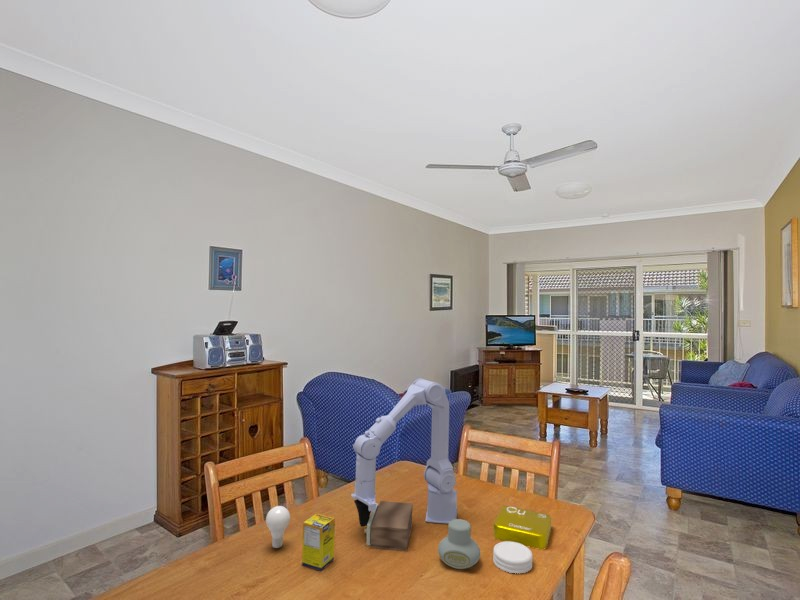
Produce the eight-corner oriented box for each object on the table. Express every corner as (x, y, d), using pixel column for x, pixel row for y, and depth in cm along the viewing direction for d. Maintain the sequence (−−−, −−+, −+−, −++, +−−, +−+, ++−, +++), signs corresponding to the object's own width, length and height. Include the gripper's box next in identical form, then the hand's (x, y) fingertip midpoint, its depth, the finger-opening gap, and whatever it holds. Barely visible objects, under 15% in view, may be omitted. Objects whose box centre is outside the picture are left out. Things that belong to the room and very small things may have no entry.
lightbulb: (293, 544, 123) (294, 504, 124) (280, 556, 117) (281, 514, 118) (274, 539, 125) (275, 500, 126) (260, 551, 119) (261, 509, 120)
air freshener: (435, 567, 114) (436, 528, 114) (440, 550, 122) (441, 513, 122) (478, 575, 111) (479, 535, 111) (481, 557, 119) (482, 519, 119)
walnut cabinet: (412, 523, 137) (412, 503, 137) (406, 551, 121) (407, 528, 121) (379, 520, 138) (380, 500, 138) (370, 547, 122) (371, 525, 123)
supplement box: (334, 559, 116) (335, 517, 117) (321, 571, 111) (322, 527, 111) (315, 553, 119) (316, 512, 119) (301, 565, 113) (302, 522, 114)
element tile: (491, 539, 129) (492, 523, 129) (502, 517, 143) (502, 502, 143) (546, 552, 123) (546, 535, 123) (551, 528, 137) (551, 513, 137)
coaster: (525, 580, 110) (526, 565, 110) (487, 566, 115) (487, 553, 115) (536, 561, 119) (537, 547, 119) (500, 549, 124) (500, 536, 124)
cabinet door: (378, 520, 138) (378, 502, 138) (369, 545, 123) (370, 525, 123) (372, 519, 138) (372, 502, 138) (363, 545, 123) (364, 525, 124)
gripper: (345, 470, 134) (344, 516, 134) (359, 489, 121) (357, 540, 121) (367, 468, 137) (366, 512, 137) (383, 486, 123) (382, 535, 123)
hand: (364, 525), depth 129 cm, fingers closed, pressing on cabinet door
